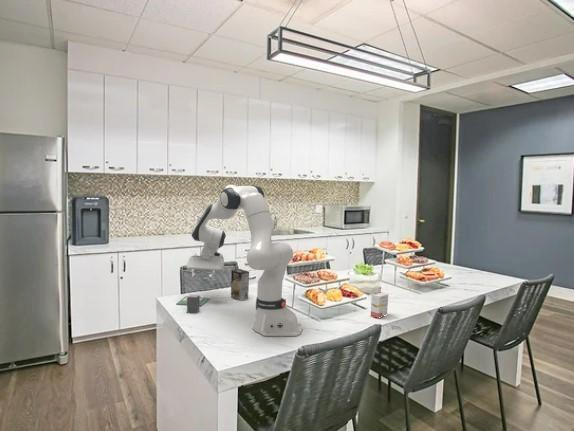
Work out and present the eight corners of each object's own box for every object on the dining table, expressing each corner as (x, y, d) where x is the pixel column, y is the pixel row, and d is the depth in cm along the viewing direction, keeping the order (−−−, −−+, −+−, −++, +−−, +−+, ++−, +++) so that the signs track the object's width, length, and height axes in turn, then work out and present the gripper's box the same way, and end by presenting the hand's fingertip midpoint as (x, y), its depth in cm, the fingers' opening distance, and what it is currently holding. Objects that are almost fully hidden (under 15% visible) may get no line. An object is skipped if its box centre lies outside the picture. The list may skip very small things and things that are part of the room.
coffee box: (230, 297, 214) (230, 270, 212) (238, 295, 218) (239, 268, 217) (240, 301, 207) (241, 273, 206) (249, 298, 212) (249, 271, 211)
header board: (209, 298, 210) (209, 295, 210) (201, 306, 196) (201, 303, 196) (186, 297, 211) (186, 294, 211) (176, 304, 197) (176, 301, 197)
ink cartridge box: (378, 319, 185) (380, 290, 184) (370, 316, 189) (371, 288, 188) (387, 315, 191) (389, 287, 190) (379, 313, 195) (380, 285, 194)
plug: (199, 311, 189) (199, 294, 188) (196, 313, 185) (196, 297, 184) (190, 310, 189) (190, 294, 189) (187, 312, 185) (187, 296, 185)
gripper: (189, 252, 206) (181, 273, 197) (224, 254, 204) (219, 275, 195) (191, 258, 211) (184, 279, 202) (226, 260, 208) (221, 282, 199)
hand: (202, 277), depth 198 cm, fingers open, 8 cm apart
